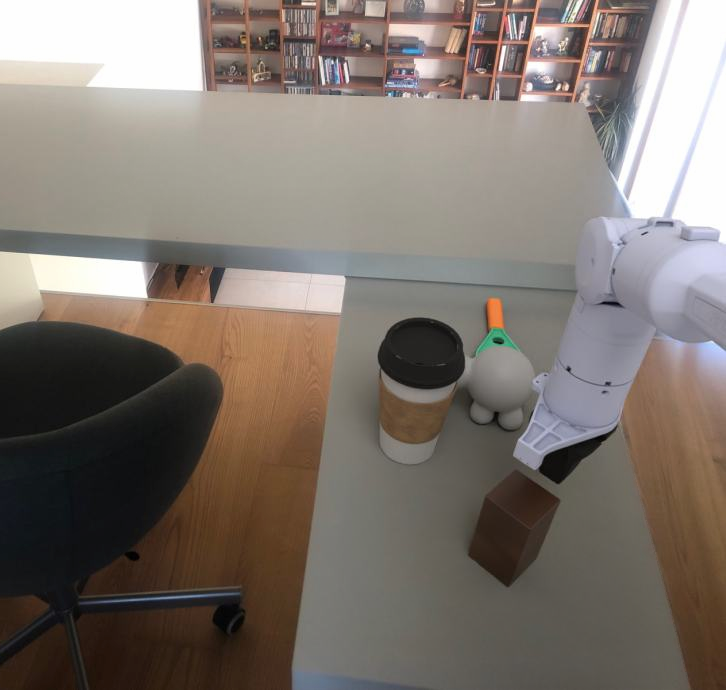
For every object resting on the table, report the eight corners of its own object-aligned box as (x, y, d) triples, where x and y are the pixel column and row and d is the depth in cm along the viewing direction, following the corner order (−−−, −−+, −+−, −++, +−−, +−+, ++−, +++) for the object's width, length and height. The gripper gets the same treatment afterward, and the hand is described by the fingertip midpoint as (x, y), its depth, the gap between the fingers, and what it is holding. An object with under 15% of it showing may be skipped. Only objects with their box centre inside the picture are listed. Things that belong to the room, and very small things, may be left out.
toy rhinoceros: (425, 372, 84) (435, 317, 78) (528, 397, 80) (546, 341, 75) (412, 413, 79) (421, 357, 73) (521, 441, 75) (539, 384, 70)
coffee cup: (361, 464, 73) (372, 359, 64) (375, 409, 79) (387, 305, 70) (441, 482, 71) (466, 376, 62) (450, 424, 77) (473, 319, 68)
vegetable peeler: (527, 388, 82) (530, 377, 80) (474, 382, 82) (477, 372, 81) (515, 310, 93) (518, 300, 92) (469, 306, 94) (471, 295, 93)
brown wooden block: (536, 558, 64) (561, 499, 59) (508, 587, 62) (530, 529, 56) (495, 527, 67) (515, 468, 61) (467, 554, 65) (484, 495, 59)
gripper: (598, 299, 59) (557, 410, 68) (495, 377, 52) (465, 490, 61) (681, 339, 55) (626, 452, 63) (582, 430, 48) (536, 543, 56)
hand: (552, 474), depth 62 cm, fingers closed
